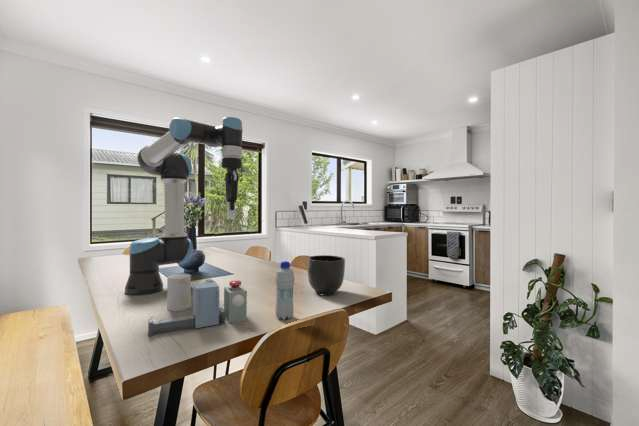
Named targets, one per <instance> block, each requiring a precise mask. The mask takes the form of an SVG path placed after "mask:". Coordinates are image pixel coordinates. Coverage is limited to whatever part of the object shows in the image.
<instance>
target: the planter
mask: <svg viewBox="0 0 639 426" xmlns="http://www.w3.org/2000/svg"><path fill="white" fill-rule="evenodd" d="M345 268H346V258H345V257H343V256H338V255H327V254H326V255H324V254H321V255H313V256H312V255H311V256H309V257H307V278H308V282H309V285H310V287H311V289H313V290H314V292H315V293H316V294H317V293H318V294H317V295H319V294H323V295H322V296H330V295H329V294H333V295H335V294H336V293H337V291H338V290H339V289H340V288H341V287H342V286H343V282H344V278H345V271H346V270H345ZM334 293H335V294H334Z"/></svg>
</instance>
